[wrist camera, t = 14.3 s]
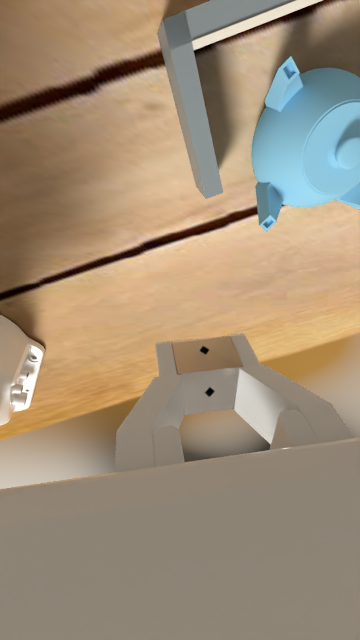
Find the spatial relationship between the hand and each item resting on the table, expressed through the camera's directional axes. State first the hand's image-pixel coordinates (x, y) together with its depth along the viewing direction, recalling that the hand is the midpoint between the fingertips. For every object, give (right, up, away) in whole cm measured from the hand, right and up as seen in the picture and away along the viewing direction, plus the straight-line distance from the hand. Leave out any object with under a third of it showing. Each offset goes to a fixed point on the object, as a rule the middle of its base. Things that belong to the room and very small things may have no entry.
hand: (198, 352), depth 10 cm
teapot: (+14, +23, +27) cm, 39 cm away
